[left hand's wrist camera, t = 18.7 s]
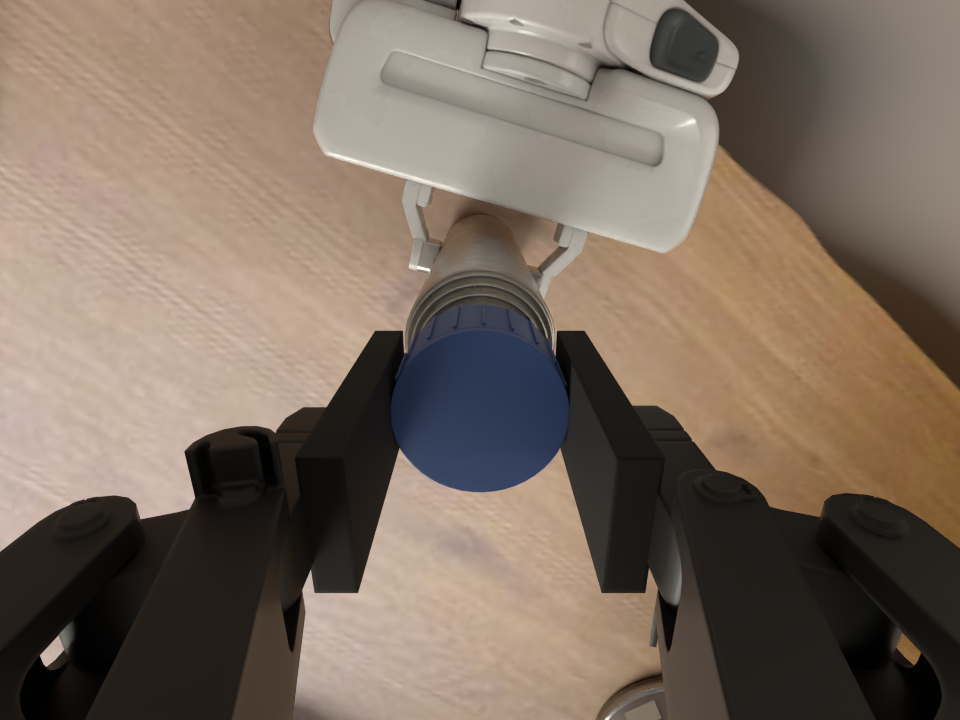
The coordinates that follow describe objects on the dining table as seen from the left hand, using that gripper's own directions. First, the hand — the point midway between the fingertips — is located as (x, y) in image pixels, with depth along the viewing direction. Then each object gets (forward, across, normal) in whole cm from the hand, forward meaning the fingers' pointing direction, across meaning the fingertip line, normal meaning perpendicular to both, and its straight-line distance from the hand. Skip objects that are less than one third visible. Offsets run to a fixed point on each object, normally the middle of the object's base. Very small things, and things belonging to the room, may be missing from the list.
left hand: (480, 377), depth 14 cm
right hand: (+16, 0, +1) cm, 16 cm away
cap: (-2, 0, 0) cm, 2 cm away
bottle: (+23, 0, 0) cm, 23 cm away
